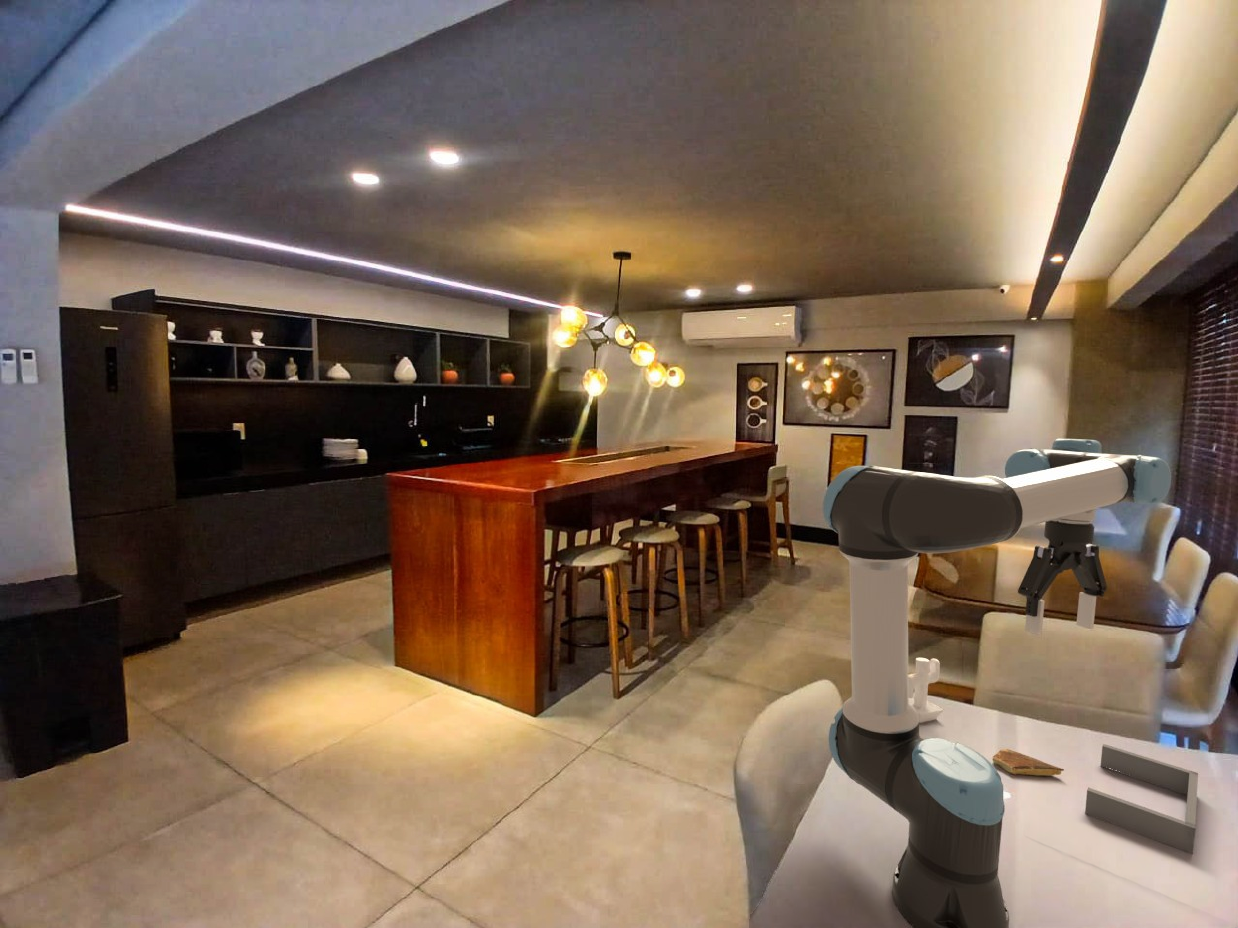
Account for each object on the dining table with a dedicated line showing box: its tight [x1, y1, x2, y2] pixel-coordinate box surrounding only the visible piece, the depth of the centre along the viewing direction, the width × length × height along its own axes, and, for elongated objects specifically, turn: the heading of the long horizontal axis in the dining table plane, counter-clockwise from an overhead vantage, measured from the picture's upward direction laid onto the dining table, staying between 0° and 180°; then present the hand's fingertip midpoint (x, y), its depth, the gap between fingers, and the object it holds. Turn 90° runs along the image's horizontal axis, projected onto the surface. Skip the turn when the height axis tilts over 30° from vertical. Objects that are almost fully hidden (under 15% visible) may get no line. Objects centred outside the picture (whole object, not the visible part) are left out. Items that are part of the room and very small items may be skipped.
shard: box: [992, 748, 1065, 777], centre depth 125 cm, size 11×8×2 cm
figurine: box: [908, 657, 945, 724], centre depth 146 cm, size 7×9×15 cm
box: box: [1084, 743, 1199, 854], centre depth 116 cm, size 14×22×4 cm, turn 136°
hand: (1059, 629), depth 118 cm, fingers open, 13 cm apart
